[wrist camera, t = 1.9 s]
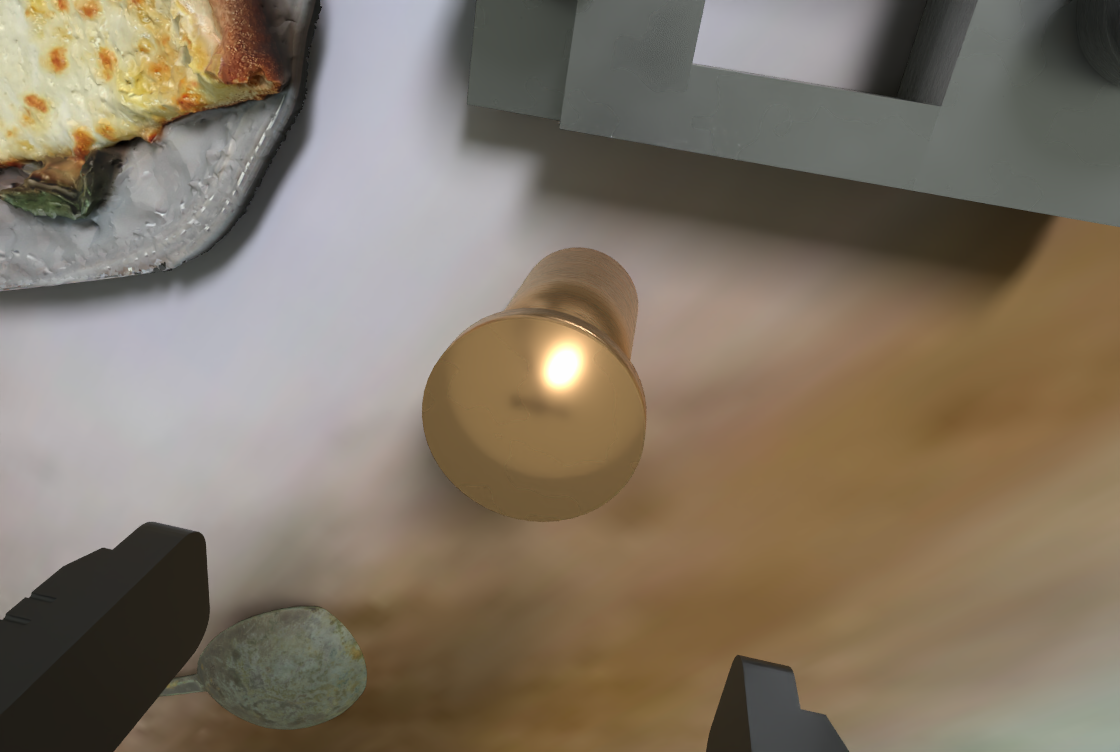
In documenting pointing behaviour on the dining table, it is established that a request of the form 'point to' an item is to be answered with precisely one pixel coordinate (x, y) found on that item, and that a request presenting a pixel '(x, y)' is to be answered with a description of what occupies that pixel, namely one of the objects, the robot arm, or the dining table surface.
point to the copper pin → (543, 394)
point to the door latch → (838, 97)
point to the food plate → (138, 128)
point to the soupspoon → (281, 669)
